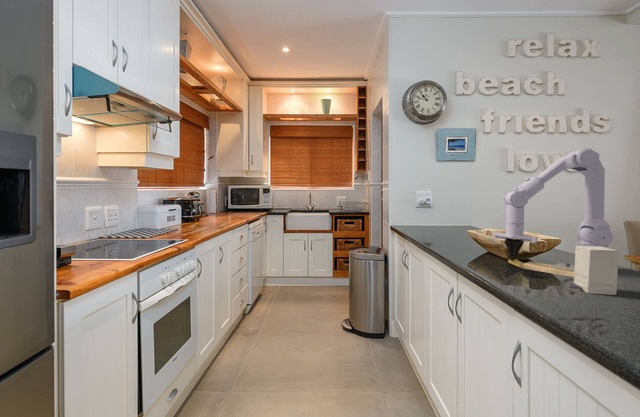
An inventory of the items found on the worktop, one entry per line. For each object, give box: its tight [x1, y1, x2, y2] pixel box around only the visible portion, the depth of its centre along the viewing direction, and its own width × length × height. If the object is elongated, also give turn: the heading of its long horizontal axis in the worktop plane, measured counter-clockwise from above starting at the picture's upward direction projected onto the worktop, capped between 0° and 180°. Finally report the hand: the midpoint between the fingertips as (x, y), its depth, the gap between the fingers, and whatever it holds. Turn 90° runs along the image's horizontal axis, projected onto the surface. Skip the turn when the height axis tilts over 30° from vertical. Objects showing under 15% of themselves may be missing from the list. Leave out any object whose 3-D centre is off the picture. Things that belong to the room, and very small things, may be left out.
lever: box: [507, 258, 525, 268], centre depth 122 cm, size 4×1×5 cm
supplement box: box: [573, 245, 620, 296], centre depth 95 cm, size 7×7×13 cm
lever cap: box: [553, 262, 575, 271], centre depth 110 cm, size 5×6×2 cm
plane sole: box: [519, 260, 574, 278], centre depth 114 cm, size 7×17×2 cm, turn 39°
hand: (513, 259), depth 123 cm, fingers closed
